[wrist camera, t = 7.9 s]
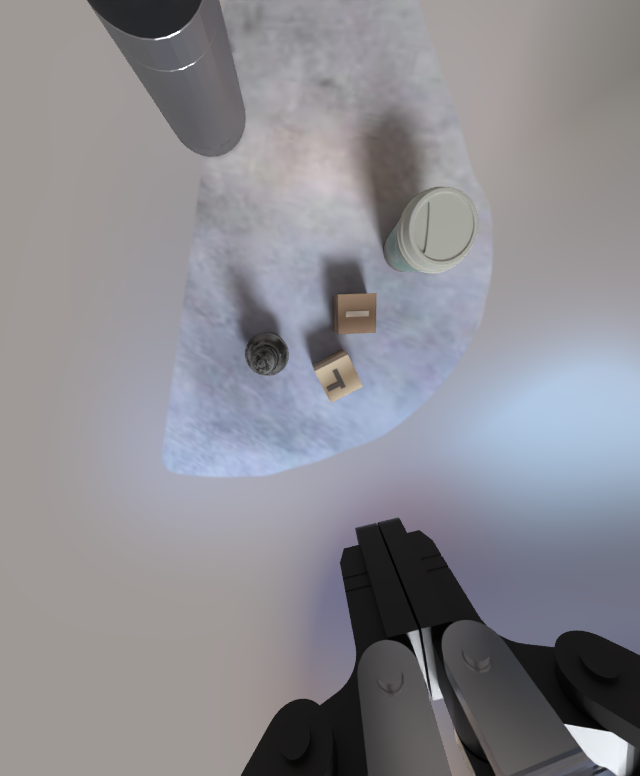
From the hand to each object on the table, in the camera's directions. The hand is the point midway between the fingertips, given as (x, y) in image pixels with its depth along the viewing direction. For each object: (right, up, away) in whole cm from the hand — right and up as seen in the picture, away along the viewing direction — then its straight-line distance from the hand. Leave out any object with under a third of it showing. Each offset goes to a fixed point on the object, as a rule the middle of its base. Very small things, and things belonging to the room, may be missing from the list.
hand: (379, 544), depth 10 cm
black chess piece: (-10, +11, +35) cm, 38 cm away
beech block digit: (0, +8, +36) cm, 37 cm away
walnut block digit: (+2, +16, +35) cm, 38 cm away
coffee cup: (+10, +25, +33) cm, 43 cm away
